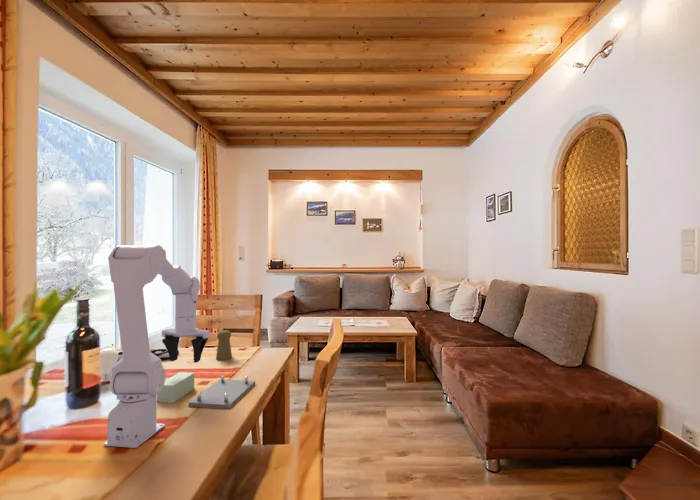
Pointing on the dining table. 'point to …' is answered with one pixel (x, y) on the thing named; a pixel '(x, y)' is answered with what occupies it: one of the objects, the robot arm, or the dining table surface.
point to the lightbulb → (107, 362)
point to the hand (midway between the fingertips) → (185, 360)
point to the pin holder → (222, 393)
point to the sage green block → (176, 387)
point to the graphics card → (159, 353)
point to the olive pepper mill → (224, 346)
